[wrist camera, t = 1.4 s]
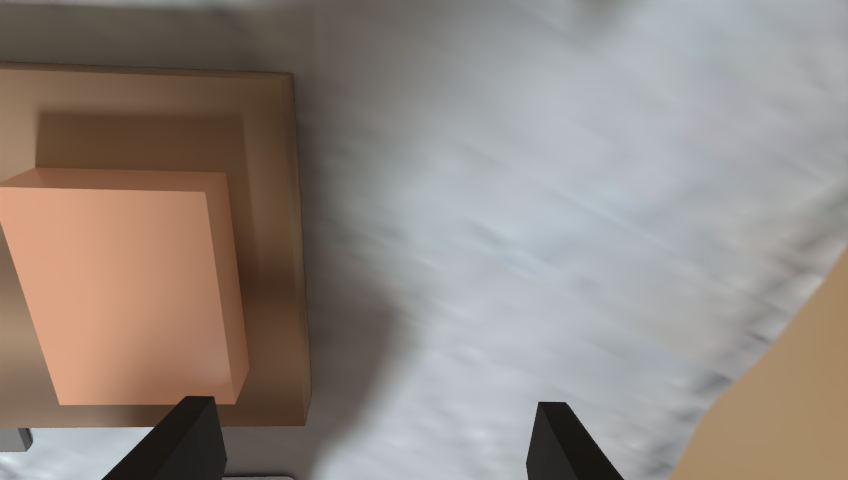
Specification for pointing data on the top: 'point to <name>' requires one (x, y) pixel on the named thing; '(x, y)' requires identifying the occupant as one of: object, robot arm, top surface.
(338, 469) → the top surface
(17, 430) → the mat
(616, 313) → the top surface
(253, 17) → the top surface
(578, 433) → the robot arm
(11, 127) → the brown flat square slab
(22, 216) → the tile
